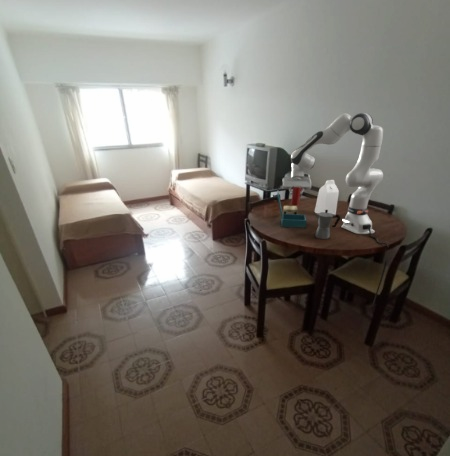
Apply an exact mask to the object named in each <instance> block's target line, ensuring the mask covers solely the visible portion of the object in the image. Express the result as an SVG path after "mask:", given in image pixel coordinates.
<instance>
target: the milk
mask: <svg viewBox="0 0 450 456" xmlns="http://www.w3.org/2000/svg"><path fill="white" fill-rule="evenodd" d="M339 194H340V191H339V188H338V186H337V185H336V182H335V179H327V180H326V181H325V183H324V185H322V186H321V187H320V188H319V190H318V193H317V198H316V202H315V207H314V214H316V213H321V212H325V210H328V212H327V213H332V214H336V215H337V209H338V203H339V202H338V201H339Z"/></svg>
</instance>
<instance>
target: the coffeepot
mask: <svg viewBox="0 0 450 456" xmlns="http://www.w3.org/2000/svg"><path fill="white" fill-rule="evenodd" d="M327 212H328V210H325V212H321V213H314V215H315V217H316V219H317V224H318V226H317V228H316V231H315V234H314V236H315V238H317V239H321V240H328V239H329V238H330V237H331V232H330V231H331V228H330V226H331V227H332V228H336V227H337V225H338V224H339V222H340V220H341V216H340V215H339V214H337V213H336V214H332V213H327ZM334 218H335V219H336V220H335V222H334V224H333V225H332V222H333V219H334Z"/></svg>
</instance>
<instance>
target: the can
mask: <svg viewBox="0 0 450 456" xmlns="http://www.w3.org/2000/svg"><path fill="white" fill-rule="evenodd" d="M292 191H293V193H292V194H291V201H290V202H291V203H290V206H297V207H298V206H300V200H301V195H300V192H301V191H302V190H301V186H297V185H295V186H293V189H292Z"/></svg>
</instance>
